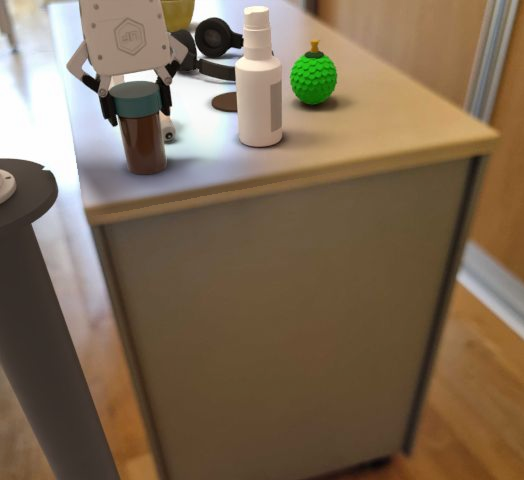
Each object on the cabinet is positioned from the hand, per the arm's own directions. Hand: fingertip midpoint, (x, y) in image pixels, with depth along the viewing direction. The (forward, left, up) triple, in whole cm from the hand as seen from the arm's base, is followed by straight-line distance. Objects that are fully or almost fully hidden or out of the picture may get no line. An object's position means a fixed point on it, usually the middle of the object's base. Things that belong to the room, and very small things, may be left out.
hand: (139, 116), depth 79 cm
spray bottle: (+19, -1, -7) cm, 20 cm away
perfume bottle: (+6, +30, -7) cm, 31 cm away
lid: (0, 0, +3) cm, 3 cm away
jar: (0, 0, -7) cm, 7 cm away
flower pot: (+34, +66, -7) cm, 75 cm away
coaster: (+23, +15, -7) cm, 28 cm away
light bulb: (+6, +11, -7) cm, 14 cm away
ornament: (+34, +7, -7) cm, 35 cm away
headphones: (+30, +33, -7) cm, 45 cm away
